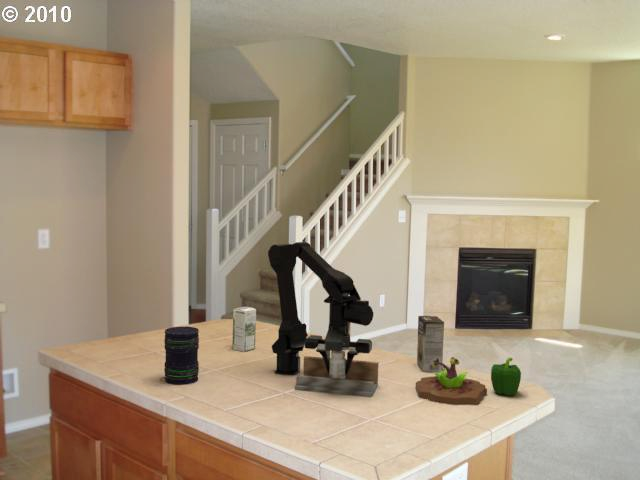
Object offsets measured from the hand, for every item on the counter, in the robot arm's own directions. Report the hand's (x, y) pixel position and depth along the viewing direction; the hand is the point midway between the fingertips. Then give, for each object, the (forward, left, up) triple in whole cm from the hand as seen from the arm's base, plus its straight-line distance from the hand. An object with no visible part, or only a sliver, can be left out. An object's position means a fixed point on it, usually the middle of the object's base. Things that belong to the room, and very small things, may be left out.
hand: (337, 373), depth 197 cm
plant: (+32, +4, -5) cm, 32 cm away
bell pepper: (+47, +8, -4) cm, 48 cm away
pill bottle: (0, 0, -2) cm, 2 cm away
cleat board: (0, -3, -4) cm, 5 cm away
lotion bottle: (-8, +45, -4) cm, 46 cm away
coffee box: (+24, +28, -4) cm, 37 cm away
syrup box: (-40, +32, -4) cm, 52 cm away
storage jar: (-45, -8, -4) cm, 46 cm away
